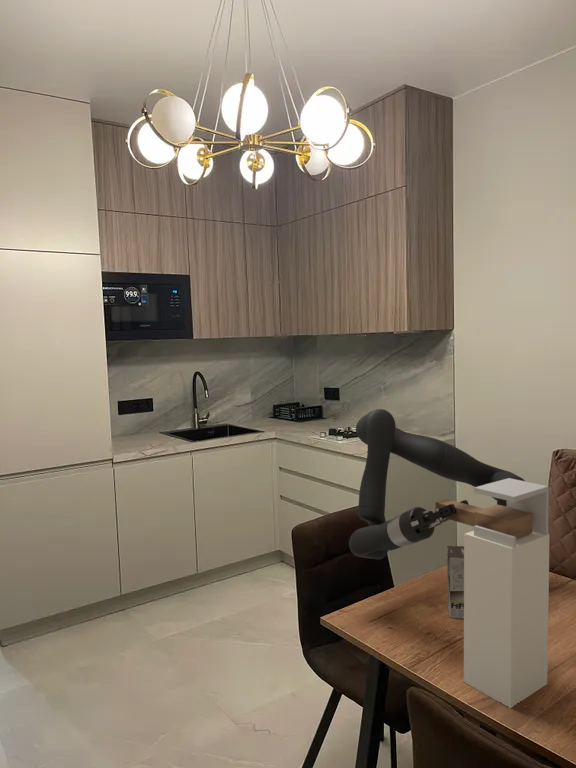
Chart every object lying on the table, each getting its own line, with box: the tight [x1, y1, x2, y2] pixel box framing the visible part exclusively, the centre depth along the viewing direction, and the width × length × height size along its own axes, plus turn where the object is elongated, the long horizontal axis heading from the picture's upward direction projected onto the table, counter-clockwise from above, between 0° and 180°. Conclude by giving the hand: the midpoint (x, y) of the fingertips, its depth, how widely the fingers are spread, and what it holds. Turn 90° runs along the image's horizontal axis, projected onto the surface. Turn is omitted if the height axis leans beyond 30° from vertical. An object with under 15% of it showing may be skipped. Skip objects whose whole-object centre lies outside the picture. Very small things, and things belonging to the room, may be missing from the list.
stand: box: [463, 478, 550, 709], centre depth 120 cm, size 11×13×42 cm
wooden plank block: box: [435, 498, 533, 538], centre depth 125 cm, size 20×8×4 cm, turn 36°
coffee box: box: [446, 545, 464, 620], centre depth 154 cm, size 9×6×16 cm
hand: (460, 506), depth 128 cm, fingers closed on wooden plank block, 4 cm apart
